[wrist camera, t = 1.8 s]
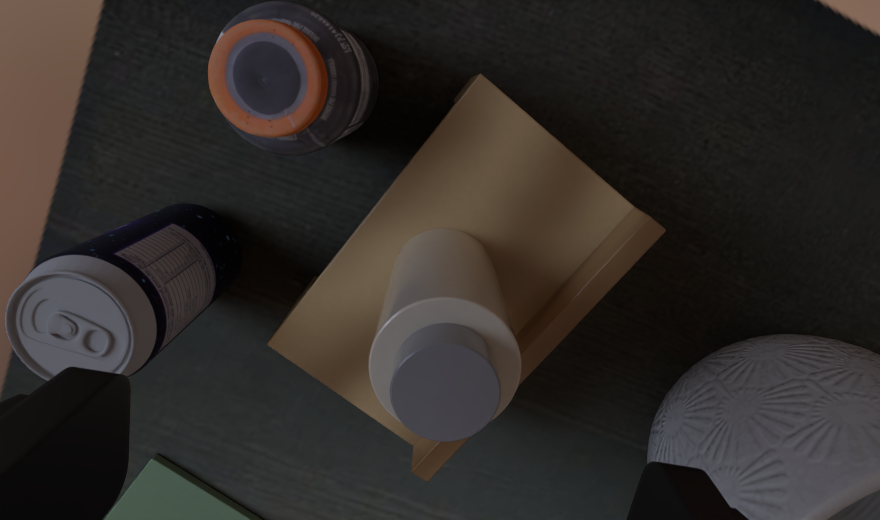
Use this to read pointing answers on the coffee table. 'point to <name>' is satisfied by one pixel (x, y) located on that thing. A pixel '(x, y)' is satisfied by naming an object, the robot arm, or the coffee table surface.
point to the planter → (780, 427)
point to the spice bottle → (444, 339)
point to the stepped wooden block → (491, 223)
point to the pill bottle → (291, 78)
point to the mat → (174, 497)
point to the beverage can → (122, 292)
